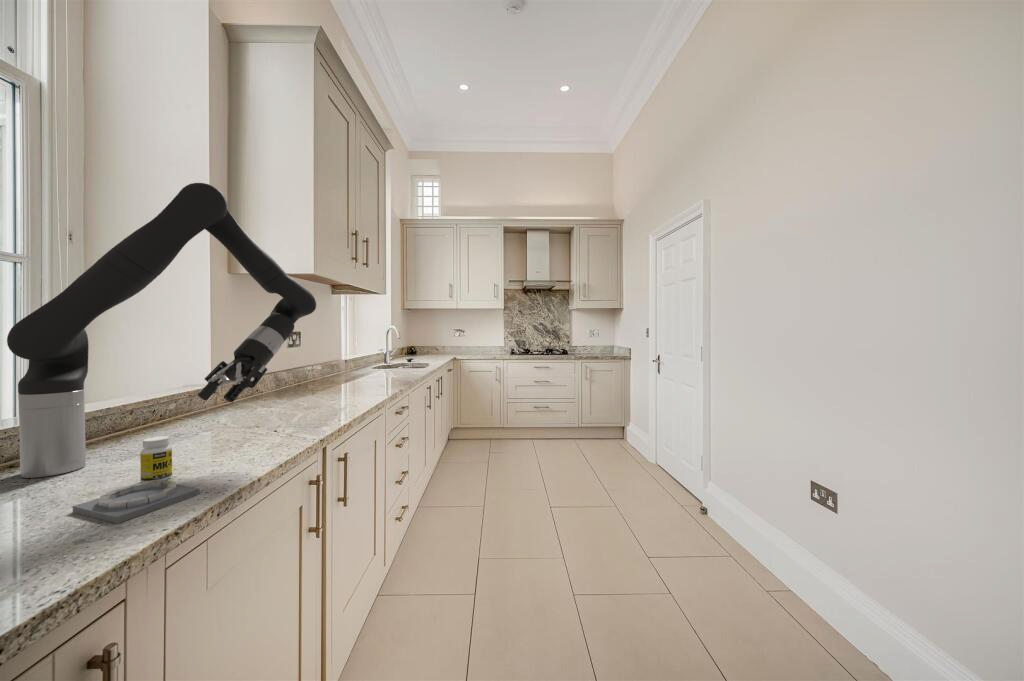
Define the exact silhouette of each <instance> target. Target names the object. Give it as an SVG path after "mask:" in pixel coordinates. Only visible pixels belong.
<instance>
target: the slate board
mask: <svg viewBox="0 0 1024 681" xmlns="http://www.w3.org/2000/svg"><path fill="white" fill-rule="evenodd" d="M162 490H164V489H162V488H156V489H146V490H141V491H135V492H131V493H128V494H125V495H122V496H119V497H117V498H115V499H113V500H130V499H135V498H140V497H145V496H148V495H151V494H155V493H158V492H160V491H162ZM200 494H201V488H200V487H195V486H189V485H185V484H177V483H176V492H175V493H173V494H172V495H170V496H168V497H167V498H164V499H161V500H158V501H155V502H152V503H149V504H145V505H141V506H136V507H131V508H126V509H112V510H107V509H102V508H98V501H99V498H100V497H98V498H96V499H92V500H88V501H86V502H81V503H79V504H76V505H73V506H72V513H75V514H79V515H82V516H87V517H90V518H94V519H98V520H100V521H101V520H102V521H106V522H110V523H114V524H119V523H122V522H126V521H128V520H131V519H134V518H136V517H139V516H142V515H144V514H147V513H151V512H153V511H156V510H158V509H162V508H164V507H167V506H170V505H174V504H177V503H178V502H181V501H183V500H186V499H189V498H192V497H194V496H197V495H200Z"/></svg>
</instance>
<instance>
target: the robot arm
mask: <svg viewBox="0 0 1024 681" xmlns="http://www.w3.org/2000/svg"><path fill="white" fill-rule="evenodd" d="M205 230H206V231H207V232H208V233H209V234H210V235H212V236H213V237H214V238H215V239H217V241H218V242H220V244H221V245H222V246H224V247H225V248H226V250H227V251H229V253H231V255H232V256H233V257H234V259H236V261H237V262H238V263H239V264H240V265H241V266H242V267H243V268H244V269H245V271H246V272H247V274H249V275H250V276H251V277H252V279H254V281H255V282H257V284H259V286H260V287H261V288H263V290H264V291H266V292H267V293H268V294H275V295H276V294H277V295H279V296H280V297H281V299H280V300H278V302H277V304H276V305H275V306H274V307H273V309H272V310H271V312H270V314H269V316H268V317H266V318H265V320H264V321H263V322H262V323H261V324H260V325H259V326H258V327H257V328H255V329H254V330H253V331H252V332H251V333H250V334H249V335H248V336H247V337H246V338H245V339H244V341H242V342H241V344H240V345H239V346H238V347H237V348H236V349H235V350H234V351H233V356H234V360H233V359H232V361H230V362H229V363H227V362H225V361H224V360H222V361H220V362H219V363H218V364H217V365H216V366H215V367H214V368H213V369H212V370H211V372H209V373H208V374H207V375H206V376H205V377H204V380H205V381H206V382H207V384H206V385H205V386H203V388H202V390H200V391H199V392H198V394H197V397H198V398H199V399H201V400H202V401H208V400H209V399H210V398H211V397H212V396H213V394H214V393H215V392H216V391H217V390H218V388H220V387H222V386H223V385H225V384H230V383H231V382H235V383H234V384H233V385H232V386H231V387H230V388H229V389H228V390H227V392H226V393H225V394H224V395H223V400H225V401H227V402H228V403H233V402H234V401H235V400H237V398H239V395H241V393H242V392H243V391H245V390H247V389H248V388H249V389H253V388H255V387H256V385H257V384H258V383H259V381H260V380H261V379H262V378H263V376H264V375H265V374H266V372H267V371H268V368H267V367H266V366H267V365H268V364H269V362H270V361H271V360H272V359H273V358H274V356H275V355H276V354H277V353H278V352H279V351H280V349H281V347H282V346H283V344H284V343H285V342H286V340H288V338H289V337H290V336H291V334H292V333H293V332H294V329H295V323H296V322H297V321H299V319H301V318H303V317H306V316H309V315H311V314H313V313H314V312H315V310H316V309H317V301H316V298H315V297H314V295H313V293H312V292H311V291H310V290H309V289H308V288H307V287H305V286H303V285H302V284H301V283H299V282H298V281H296V279H294V278H292V277H291V276H289V275H288V274H287V273H286V272H285V271H284V269H283V268H282V267H281V266H280V264H278V263H277V262H276V260H274V258H272V256H271V255H270V254H269V253H268V252H267V251H265V249H264V248H262V247H261V246H260V245H259V244H258V243H257V242H255V240H254V239H252V237H250V235H249V234H248V233H247V232H245V230H244V229H243V228H242V227H241V225H239V223H238V222H237V220H236V219H235V217H234V216H233V214H232V213H231V212H230V210H229V208H228V204H227V200H226V197H225V196H224V194H223V192H221V190H219V189H218V188H217V187H215V186H213V185H211V184H208V183H205V182H193V183H189V184H186V185H185V186H184V187H182V189H180V191H179V192H178V193H177V194H176V195H175V196H174V197H173V199H172V200H171V201H170V202H169V203H168V204H167V205H166V206H165V208H164V209H162V210H161V211H160V212H159V213H158V214H157V215H156V216H154V218H152V219H151V220H150V221H149V222H147V223H145V224H144V225H143V226H141V227H140V228H137V229H136V230H135V231H133V232H132V233H130V234H129V235H127V237H125V238H123V239H122V240H120V242H119V243H117V244H116V245H114V246H113V247H112V248H110V250H108V251H107V252H106V253H105V254H103V255H102V256H101V257H100V258H99V259H97V261H96V262H94V263H93V264H92V265H91V266H90V267H89V268H88V269H87V270H85V271H84V272H83V273H82V274H81V275H79V276H78V277H76V279H74V280H73V282H71V283H70V284H69V285H68V286H67V287H66V288H65V289H64V290H63V291H61V292H60V293H58V294H57V295H55V297H53V298H52V299H50V300H49V301H48V302H46V303H45V304H43V305H42V306H40V307H39V308H37V309H35V310H34V311H32V312H31V313H29V314H28V315H26V316H25V317H23V318H22V319H20V320H19V321H18V322H17V323H15V324H14V325H13V326H12V327H11V328H10V330H9V332H8V334H7V339H6V344H7V347H8V349H9V351H11V353H12V354H14V355H15V356H16V357H18V358H20V359H24V360H28V367H27V368H28V369H27V371H26V372H25V375H24V376H23V377H21V379H20V380H19V381H18V384H17V393H18V394H17V398H18V427H19V431H18V432H19V471H20V476H19V477H20V478H24V479H25V478H26V479H27V478H28V479H31V478H32V479H34V478H43V477H49V476H51V477H52V476H55V475H56V476H57V475H61V474H66V473H69V472H73V471H77V470H80V469H82V468H84V467H86V464H87V461H86V460H87V458H86V456H87V455H86V452H87V451H86V447H87V446H86V422H85V421H86V415H85V414H86V412H85V407H86V406H85V381H86V379H87V376H88V374H89V373H88V371H89V347H90V346H89V338H88V334H87V331H86V328H87V326H89V325H90V324H91V323H92V322H93V321H94V320H96V318H98V317H99V316H101V315H102V314H104V313H106V312H107V311H109V310H110V309H112V308H114V307H116V306H118V305H120V304H122V303H123V302H125V301H127V300H129V299H131V298H132V297H134V296H135V295H137V294H138V293H140V292H141V291H143V290H144V289H145V288H147V286H149V285H150V284H151V283H152V282H153V281H154V280H155V279H156V278H158V277H159V276H160V275H161V274H162V273H163V272H164V271H165V270H166V269H167V268H168V266H169V265H171V263H172V262H173V261H174V259H175V258H176V257H177V256H178V254H179V253H180V252H181V251H182V249H183V248H184V247H185V246H186V245H187V243H189V242H190V241H191V240H193V238H195V237H196V236H197V235H199V234H200V233H202V232H203V231H205ZM252 378H253V380H252Z"/></svg>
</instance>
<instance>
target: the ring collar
mask: <svg viewBox="0 0 1024 681" xmlns="http://www.w3.org/2000/svg"><path fill="white" fill-rule="evenodd" d="M176 484H177V482H176V481H172V480H169V479H167V480H164V481H151V482H145V483H142V482H139V483H135V484H134V483H133V484H130V485H127V486H123V487H120V488H116V489H113V490H111V491H108V492H107V493H105V494H102V495H101V496H99V497H98V498H99V501H98V508H102V509H107V510H112V509H126V508H131V507H136V506H141V505H145V504H149V503H152V502H155V501H158V500H161V499H164V498H167V497H168V496H170V495H172V494H173V493H175V492H176ZM156 488H162V489H164V490H162V491H160V492H158V493H155V494H151V495H148V496H145V497H140V498H135V499H130V500H113V499H115V498H117V497H119V496H122V495H125V494H128V493H131V492H135V491H141V490H146V489H156Z"/></svg>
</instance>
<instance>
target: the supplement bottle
mask: <svg viewBox="0 0 1024 681" xmlns="http://www.w3.org/2000/svg"><path fill="white" fill-rule="evenodd" d="M139 454H140V458H139V459H140V460H139V461H140V483H145V482H151V481H164V480H169V479H171V478H172V476H173V447H172V446H171V445H170V436H167V435H161V436H153V437H148V438H144V439H143V440H142V449H141V451H140V453H139Z"/></svg>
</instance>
